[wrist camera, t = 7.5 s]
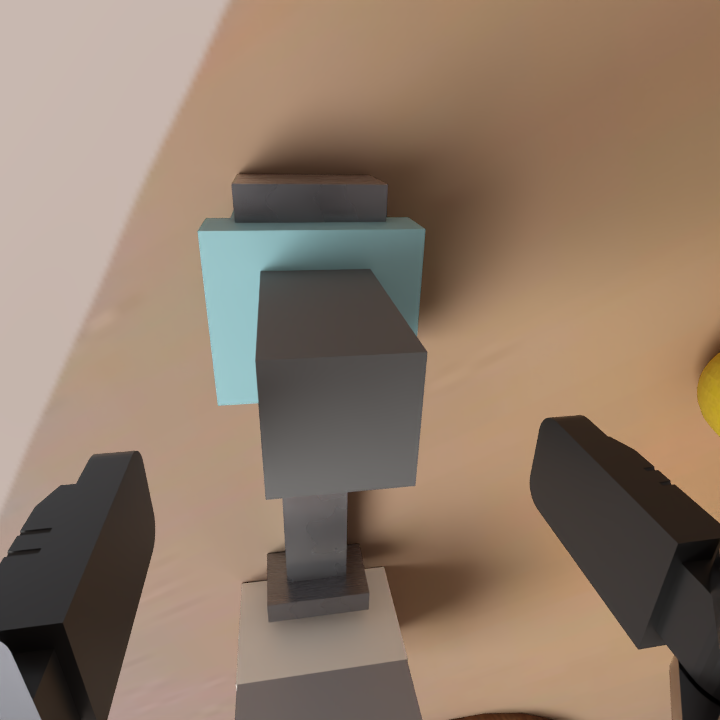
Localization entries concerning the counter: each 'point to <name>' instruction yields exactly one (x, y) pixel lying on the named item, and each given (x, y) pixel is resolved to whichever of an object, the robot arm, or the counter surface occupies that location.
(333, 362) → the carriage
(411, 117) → the counter surface
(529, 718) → the trivet
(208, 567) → the counter surface
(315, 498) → the rail
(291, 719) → the grey and white block
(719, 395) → the lemon
